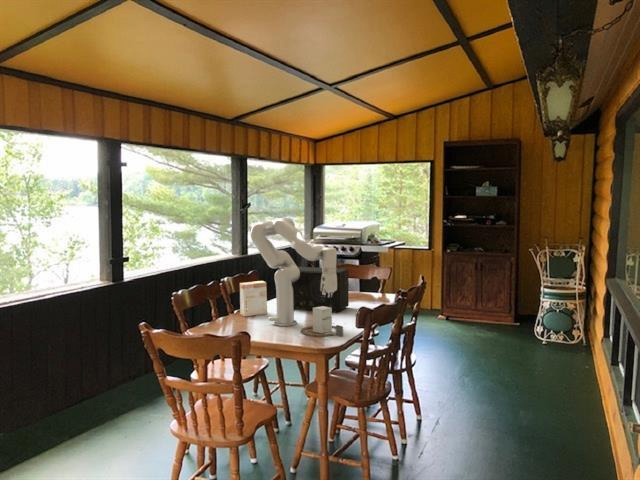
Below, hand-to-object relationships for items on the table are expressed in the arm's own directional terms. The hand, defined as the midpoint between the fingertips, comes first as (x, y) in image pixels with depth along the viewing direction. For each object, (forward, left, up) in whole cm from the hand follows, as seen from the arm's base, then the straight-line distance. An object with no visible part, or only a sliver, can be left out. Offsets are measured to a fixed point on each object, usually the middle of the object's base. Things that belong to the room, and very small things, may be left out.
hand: (327, 304), depth 290 cm
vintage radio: (+4, +51, -13) cm, 53 cm away
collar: (-4, -8, -13) cm, 15 cm away
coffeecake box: (-36, +46, -13) cm, 60 cm away
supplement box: (-4, -6, -13) cm, 15 cm away
